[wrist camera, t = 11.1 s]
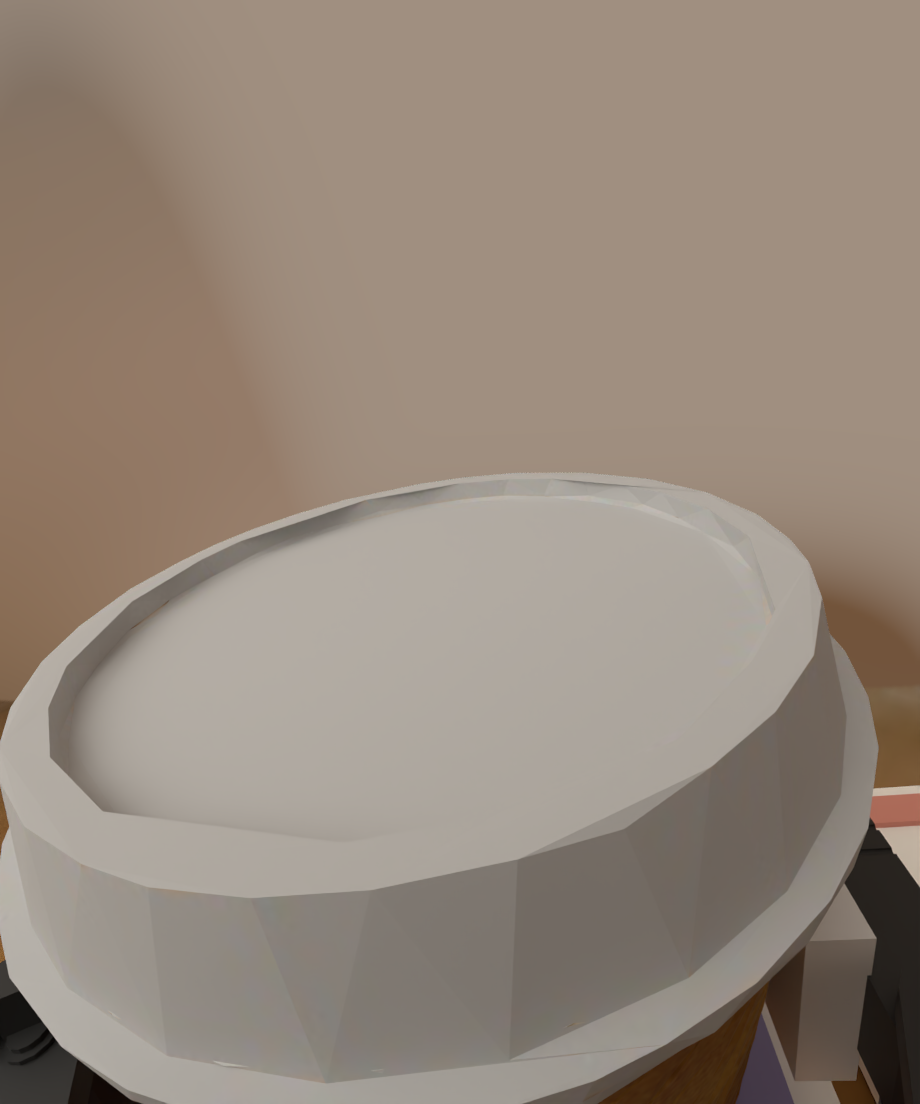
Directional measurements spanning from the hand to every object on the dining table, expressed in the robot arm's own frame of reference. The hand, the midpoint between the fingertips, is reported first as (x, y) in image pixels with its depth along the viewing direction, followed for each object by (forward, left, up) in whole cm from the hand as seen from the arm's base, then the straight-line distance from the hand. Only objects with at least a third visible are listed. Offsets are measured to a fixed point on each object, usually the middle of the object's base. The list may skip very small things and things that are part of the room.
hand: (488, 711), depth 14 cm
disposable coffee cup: (0, +5, -6) cm, 8 cm away
